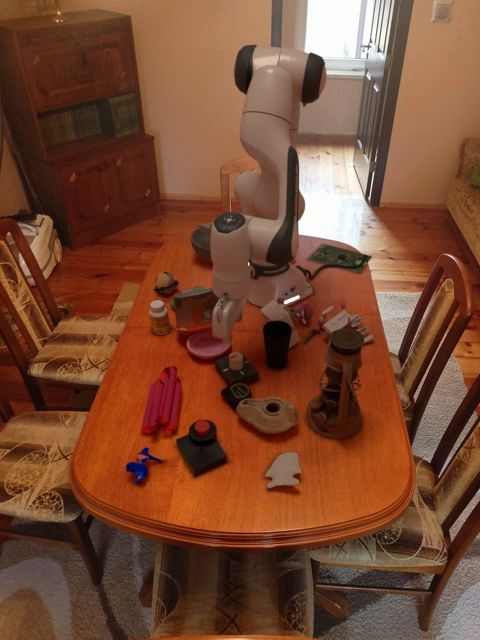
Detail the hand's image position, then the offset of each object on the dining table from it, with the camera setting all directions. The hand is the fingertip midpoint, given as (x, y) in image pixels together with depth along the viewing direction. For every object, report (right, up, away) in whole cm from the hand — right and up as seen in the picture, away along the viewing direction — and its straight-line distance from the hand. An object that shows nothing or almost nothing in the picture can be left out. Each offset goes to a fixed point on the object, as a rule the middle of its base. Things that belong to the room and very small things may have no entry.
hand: (232, 331), depth 122 cm
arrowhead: (+11, -34, -21) cm, 41 cm away
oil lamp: (+9, -23, -4) cm, 25 cm away
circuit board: (+37, +29, +58) cm, 75 cm away
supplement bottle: (-23, +1, +24) cm, 34 cm away
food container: (-12, +12, +17) cm, 24 cm away
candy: (+28, +1, +24) cm, 37 cm away
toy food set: (-15, +9, +34) cm, 38 cm away
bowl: (-8, +29, +58) cm, 65 cm away
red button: (-6, -23, -11) cm, 27 cm away
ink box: (+15, -1, +21) cm, 25 cm away
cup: (+11, -9, +13) cm, 19 cm away
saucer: (-8, -5, +17) cm, 19 cm away
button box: (-6, -28, -11) cm, 31 cm away
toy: (-23, +19, +44) cm, 53 cm away
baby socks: (+36, +2, +22) cm, 42 cm away
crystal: (-17, -18, +1) cm, 25 cm away
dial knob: (+1, -9, +7) cm, 12 cm away
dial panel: (+1, -11, +9) cm, 15 cm away
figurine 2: (+9, +3, +22) cm, 24 cm away
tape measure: (+1, -18, +1) cm, 18 cm away
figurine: (-18, -27, -14) cm, 35 cm away
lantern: (+25, -22, -3) cm, 33 cm away
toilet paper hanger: (-3, +38, +54) cm, 66 cm away
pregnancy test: (+29, +3, +21) cm, 36 cm away
